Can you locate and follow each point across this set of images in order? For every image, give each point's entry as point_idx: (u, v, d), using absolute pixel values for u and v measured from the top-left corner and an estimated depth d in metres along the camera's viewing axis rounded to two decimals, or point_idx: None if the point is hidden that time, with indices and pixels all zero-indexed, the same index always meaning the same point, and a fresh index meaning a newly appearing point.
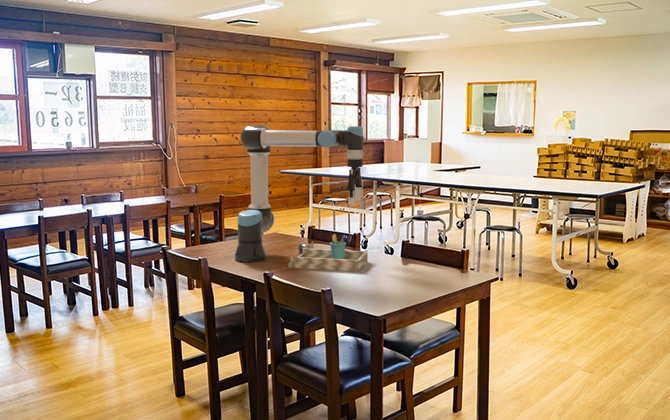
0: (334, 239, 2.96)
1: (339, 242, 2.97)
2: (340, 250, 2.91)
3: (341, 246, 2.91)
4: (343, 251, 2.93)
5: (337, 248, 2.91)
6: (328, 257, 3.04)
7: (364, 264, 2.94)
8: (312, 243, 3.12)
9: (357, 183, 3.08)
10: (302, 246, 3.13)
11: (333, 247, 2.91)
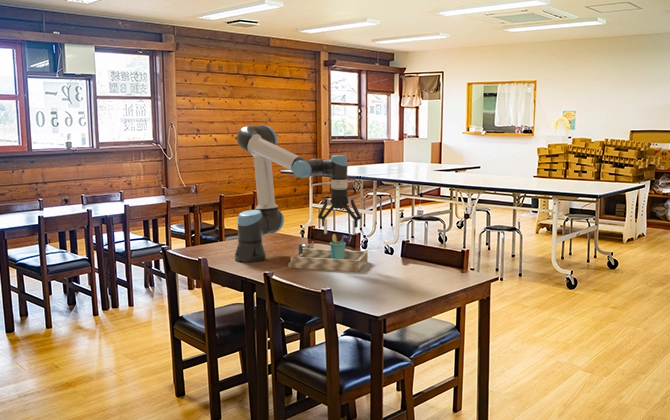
0: (334, 239, 2.96)
1: (339, 242, 2.97)
2: (340, 250, 2.91)
3: (341, 246, 2.91)
4: (343, 251, 2.93)
5: (337, 248, 2.91)
6: (328, 257, 3.04)
7: (364, 264, 2.94)
8: (312, 243, 3.12)
9: None
10: (302, 246, 3.13)
11: (333, 247, 2.91)
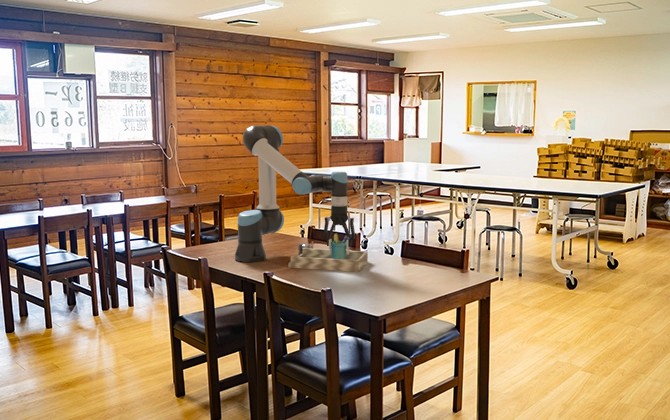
0: (335, 238, 2.95)
1: (340, 242, 2.96)
2: (341, 250, 2.91)
3: (342, 246, 2.90)
4: (344, 251, 2.92)
5: (338, 248, 2.90)
6: (328, 257, 3.04)
7: (364, 264, 2.94)
8: (312, 243, 3.12)
9: None
10: (302, 246, 3.13)
11: (334, 247, 2.91)
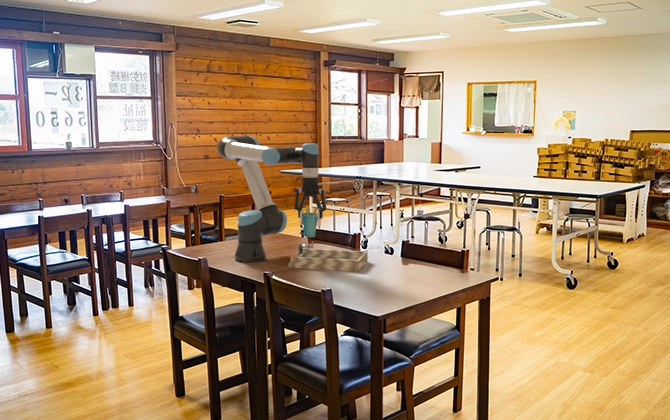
0: (307, 210, 2.97)
1: (312, 214, 2.98)
2: (312, 221, 2.92)
3: (313, 217, 2.92)
4: (315, 223, 2.94)
5: (309, 219, 2.92)
6: (328, 257, 3.04)
7: (364, 264, 2.94)
8: (312, 243, 3.12)
9: None
10: (302, 246, 3.13)
11: (305, 218, 2.92)
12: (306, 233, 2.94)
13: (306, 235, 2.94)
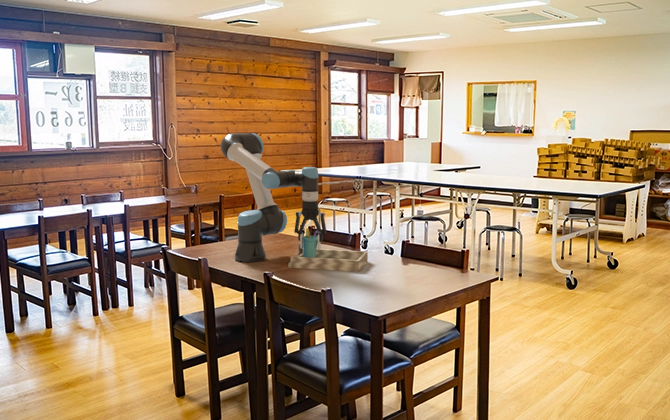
0: (307, 233, 2.98)
1: (312, 236, 2.99)
2: (312, 245, 2.94)
3: (313, 241, 2.93)
4: (315, 246, 2.95)
5: (309, 243, 2.93)
6: (328, 257, 3.04)
7: (364, 264, 2.94)
8: None
9: None
10: None
11: (305, 241, 2.94)
12: (306, 256, 2.95)
13: None
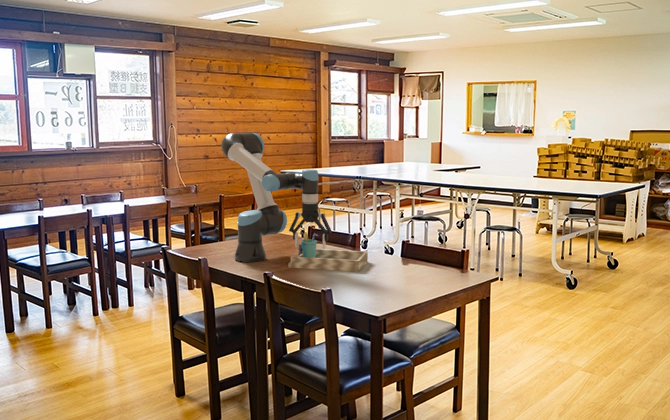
0: (305, 237, 2.99)
1: (310, 240, 3.00)
2: (311, 248, 2.94)
3: (312, 244, 2.94)
4: (314, 249, 2.96)
5: (308, 246, 2.94)
6: (328, 257, 3.04)
7: (364, 264, 2.94)
8: None
9: None
10: None
11: (304, 245, 2.94)
12: None
13: None
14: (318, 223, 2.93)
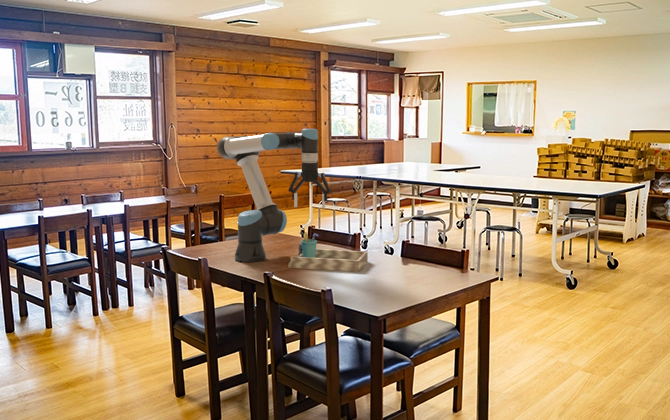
0: (305, 237, 2.99)
1: (310, 240, 3.00)
2: (311, 248, 2.94)
3: (312, 244, 2.94)
4: (314, 249, 2.96)
5: (308, 246, 2.94)
6: (328, 257, 3.04)
7: (364, 264, 2.94)
8: None
9: None
10: None
11: (304, 245, 2.94)
12: None
13: None
14: (318, 183, 2.90)
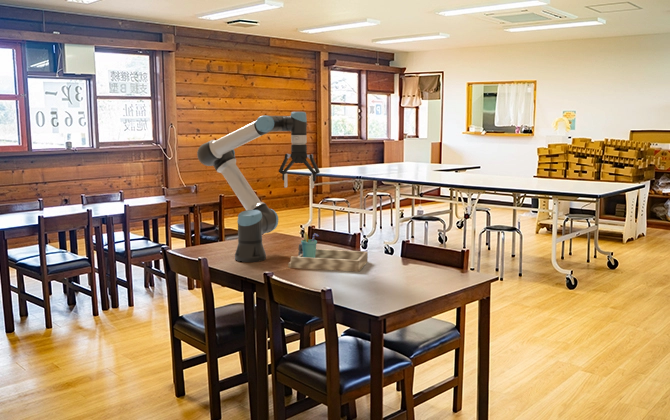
0: (305, 237, 2.99)
1: (310, 240, 3.00)
2: (311, 248, 2.94)
3: (312, 244, 2.94)
4: (314, 249, 2.96)
5: (308, 246, 2.94)
6: (328, 257, 3.04)
7: (364, 264, 2.94)
8: None
9: None
10: None
11: (304, 245, 2.94)
12: None
13: None
14: (306, 163, 3.02)
